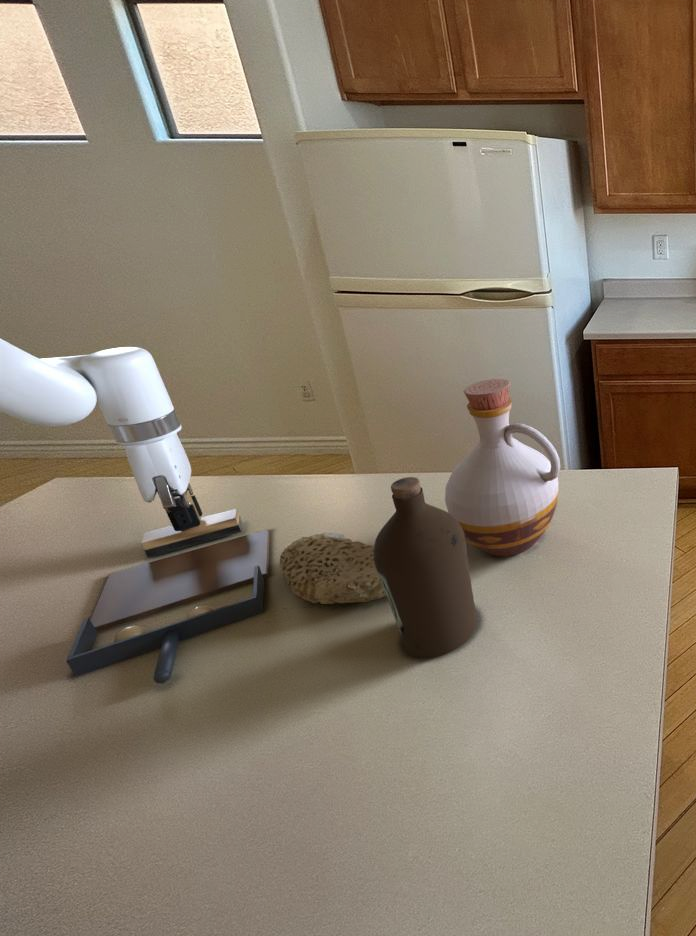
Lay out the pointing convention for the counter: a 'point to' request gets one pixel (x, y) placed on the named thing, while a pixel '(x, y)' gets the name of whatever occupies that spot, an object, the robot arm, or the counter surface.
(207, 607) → the ball
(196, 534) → the brush
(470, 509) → the jug
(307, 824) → the counter surface
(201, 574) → the board
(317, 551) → the sponge
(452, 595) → the olive oil
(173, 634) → the dustpan
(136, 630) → the ball
